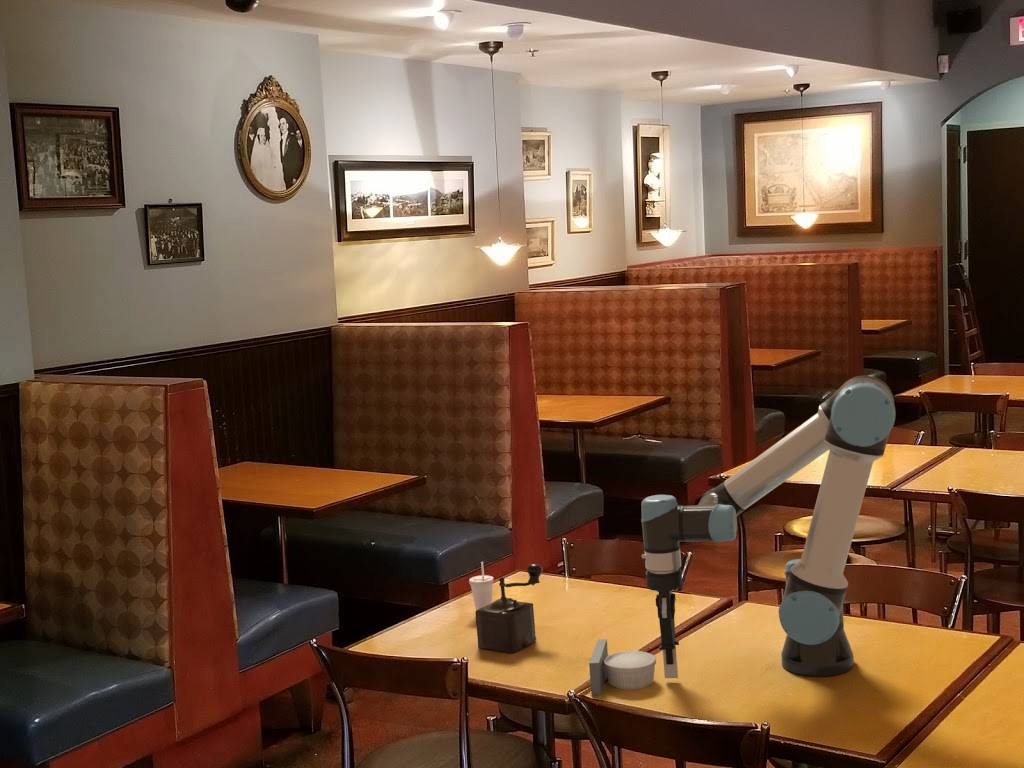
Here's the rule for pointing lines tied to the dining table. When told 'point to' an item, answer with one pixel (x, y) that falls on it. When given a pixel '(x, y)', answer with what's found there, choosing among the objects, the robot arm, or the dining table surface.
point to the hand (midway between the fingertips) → (671, 676)
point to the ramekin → (630, 669)
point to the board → (598, 667)
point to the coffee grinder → (508, 619)
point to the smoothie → (481, 589)
